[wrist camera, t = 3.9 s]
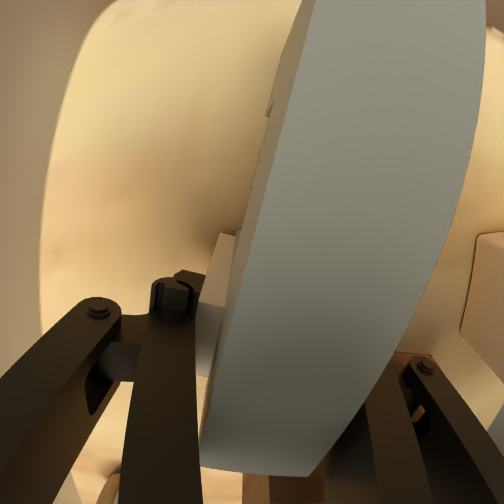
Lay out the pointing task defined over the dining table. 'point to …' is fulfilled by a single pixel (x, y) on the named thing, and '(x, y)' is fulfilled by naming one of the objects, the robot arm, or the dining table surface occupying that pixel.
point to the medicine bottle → (487, 302)
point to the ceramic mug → (110, 490)
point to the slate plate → (340, 222)
